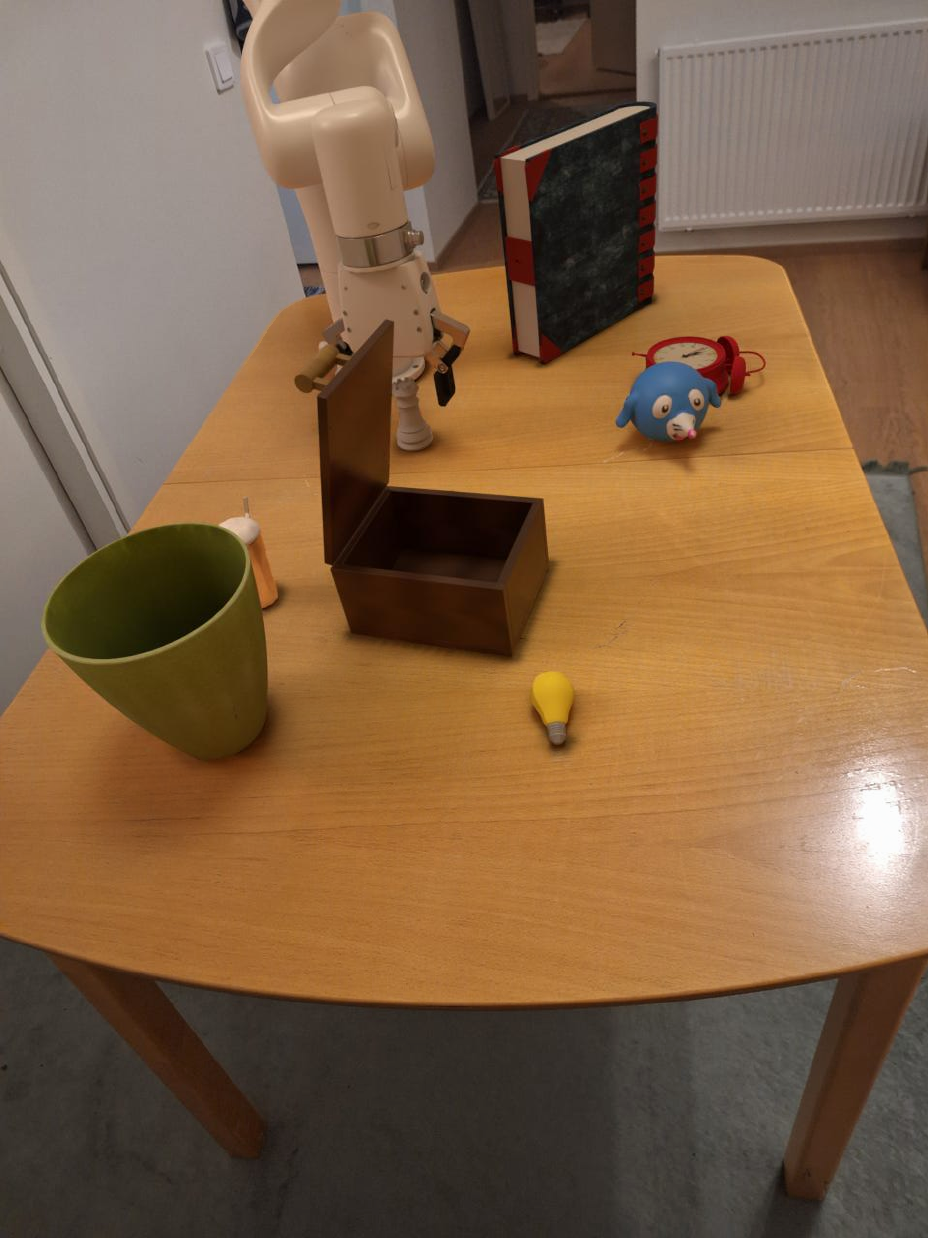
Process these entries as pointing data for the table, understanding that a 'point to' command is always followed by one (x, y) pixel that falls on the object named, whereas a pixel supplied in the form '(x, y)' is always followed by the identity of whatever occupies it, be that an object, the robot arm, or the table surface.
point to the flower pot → (169, 635)
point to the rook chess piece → (410, 417)
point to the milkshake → (255, 554)
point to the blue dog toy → (668, 402)
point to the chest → (445, 569)
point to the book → (579, 227)
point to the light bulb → (553, 702)
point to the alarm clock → (705, 358)
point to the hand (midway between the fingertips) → (407, 399)
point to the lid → (352, 432)
